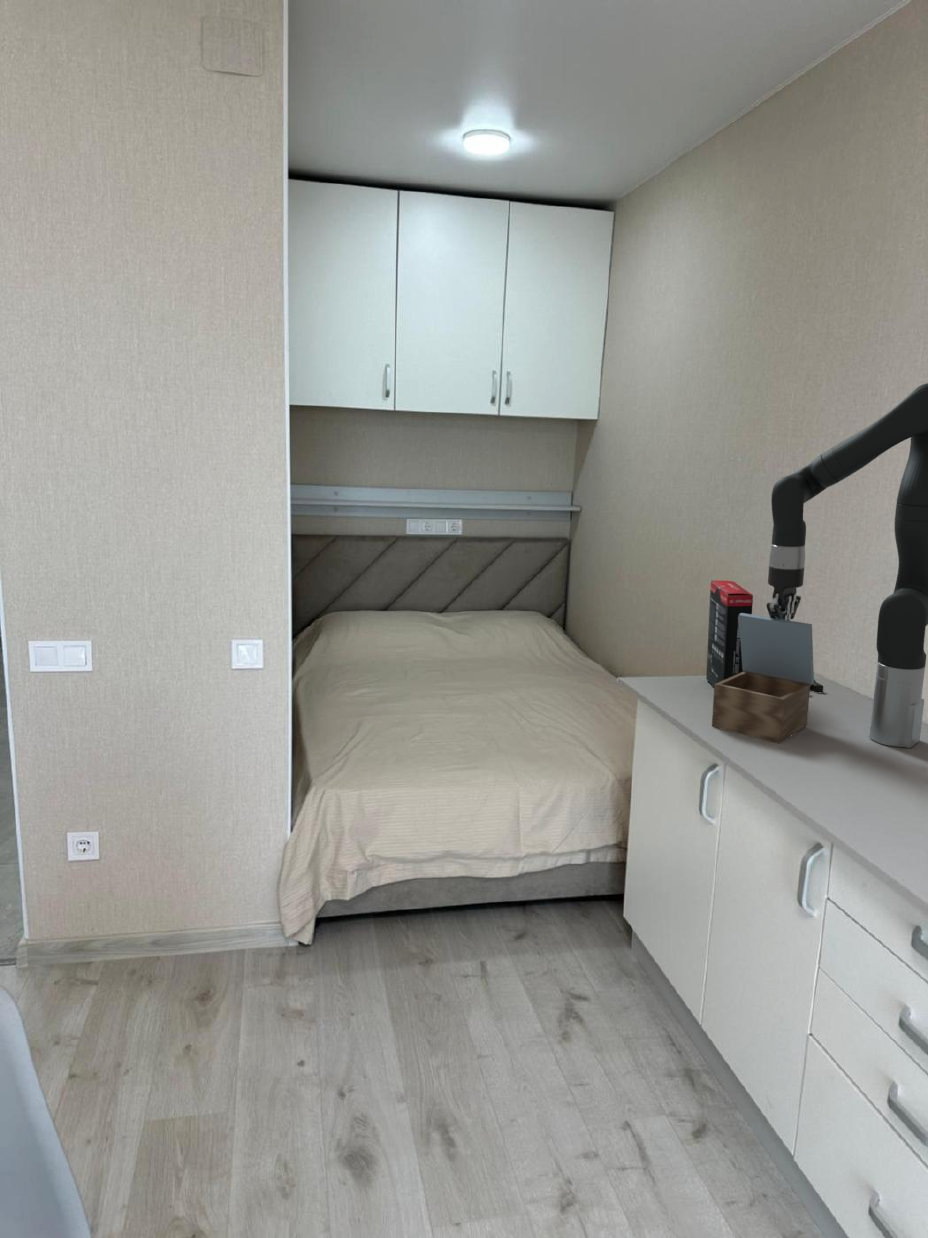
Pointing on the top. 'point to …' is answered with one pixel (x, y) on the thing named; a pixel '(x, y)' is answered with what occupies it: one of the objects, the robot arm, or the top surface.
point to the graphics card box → (725, 629)
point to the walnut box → (760, 706)
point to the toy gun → (816, 687)
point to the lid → (777, 648)
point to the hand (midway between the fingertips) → (781, 639)
